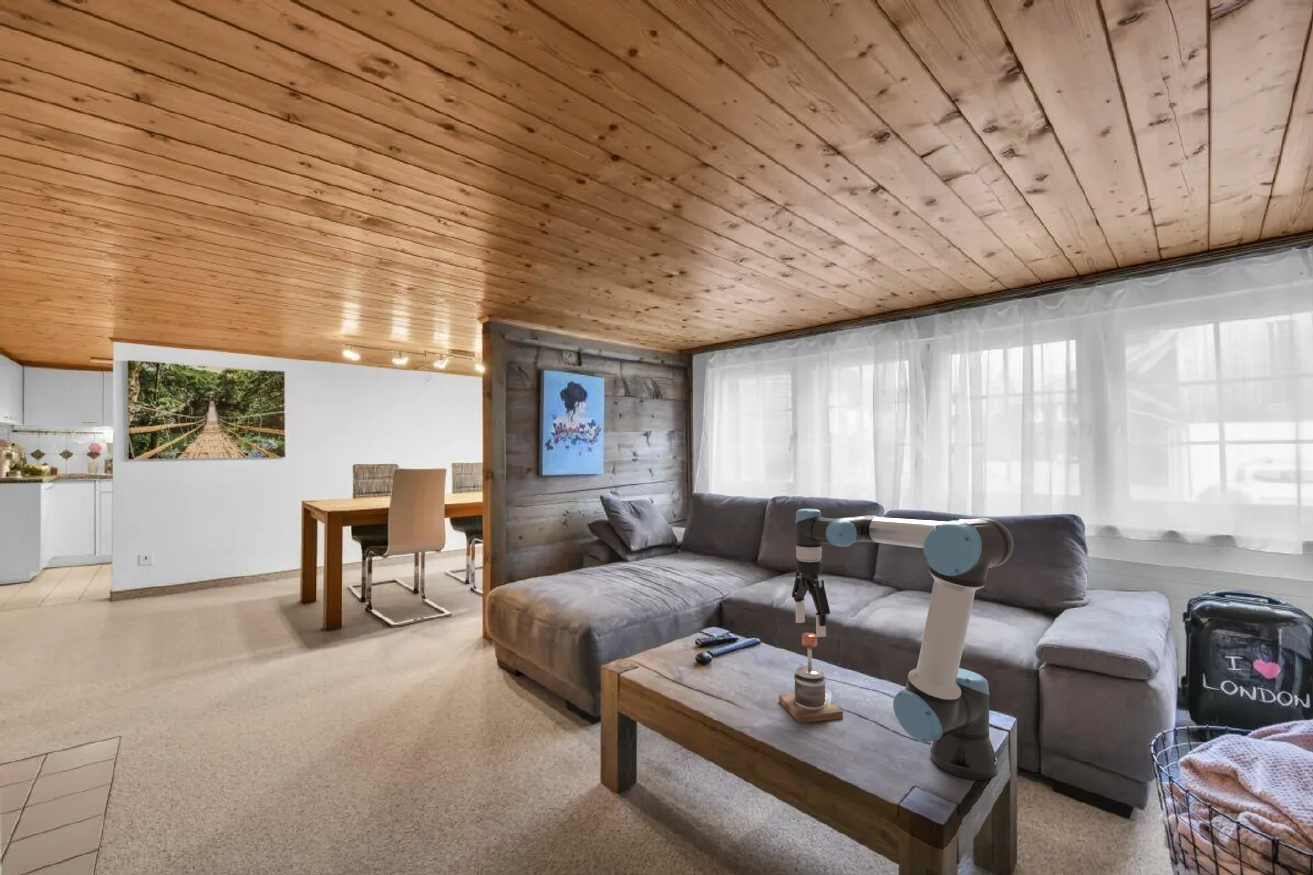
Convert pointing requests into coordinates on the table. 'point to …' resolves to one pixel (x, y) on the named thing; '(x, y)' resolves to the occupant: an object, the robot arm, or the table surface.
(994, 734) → the table surface
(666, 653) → the table surface
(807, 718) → the stand
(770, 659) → the table surface
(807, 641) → the plunger
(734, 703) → the table surface
